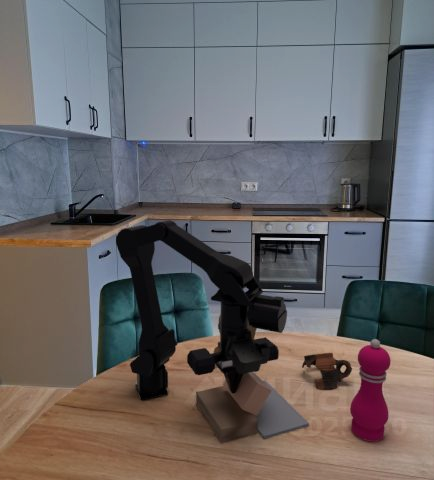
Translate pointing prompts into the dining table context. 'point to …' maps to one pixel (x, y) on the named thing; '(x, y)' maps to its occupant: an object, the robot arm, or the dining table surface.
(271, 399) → the mat
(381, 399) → the pepper mill
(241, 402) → the salmon pink block
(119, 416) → the dining table surface
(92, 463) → the dining table surface
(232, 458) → the dining table surface
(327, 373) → the pottery mug
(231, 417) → the ledge
